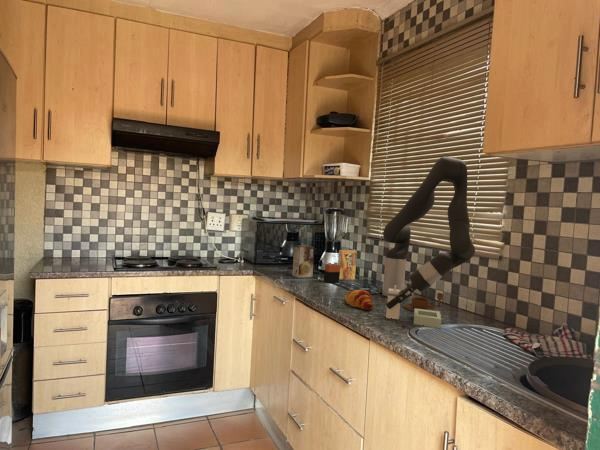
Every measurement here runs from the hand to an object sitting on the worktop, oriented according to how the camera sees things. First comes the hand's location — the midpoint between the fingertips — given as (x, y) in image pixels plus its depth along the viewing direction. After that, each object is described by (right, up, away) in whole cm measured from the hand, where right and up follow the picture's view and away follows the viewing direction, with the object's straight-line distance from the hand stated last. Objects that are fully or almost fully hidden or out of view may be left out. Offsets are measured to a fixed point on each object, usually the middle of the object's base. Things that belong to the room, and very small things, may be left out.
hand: (388, 305), depth 163 cm
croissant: (-9, -3, +15) cm, 18 cm away
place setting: (+20, -6, +17) cm, 26 cm away
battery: (-17, 0, +61) cm, 63 cm away
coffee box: (-31, +2, +72) cm, 79 cm away
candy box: (-8, 0, +74) cm, 75 cm away
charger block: (+1, -4, 0) cm, 5 cm away
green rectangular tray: (+13, -5, -3) cm, 15 cm away
